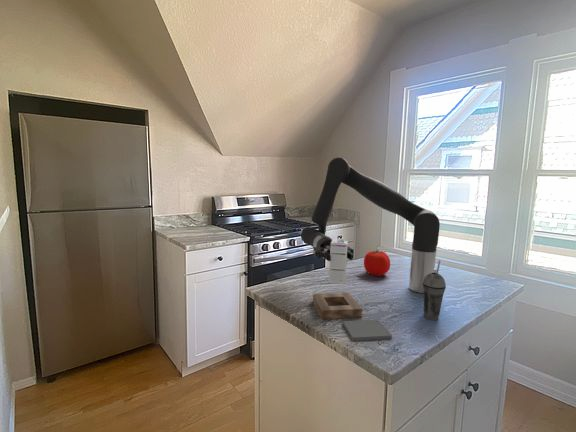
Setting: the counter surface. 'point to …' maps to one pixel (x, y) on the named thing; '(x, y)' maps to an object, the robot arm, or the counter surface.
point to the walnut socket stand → (331, 312)
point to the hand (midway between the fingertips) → (340, 257)
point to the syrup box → (338, 261)
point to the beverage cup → (433, 294)
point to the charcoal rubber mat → (366, 330)
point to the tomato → (376, 263)
